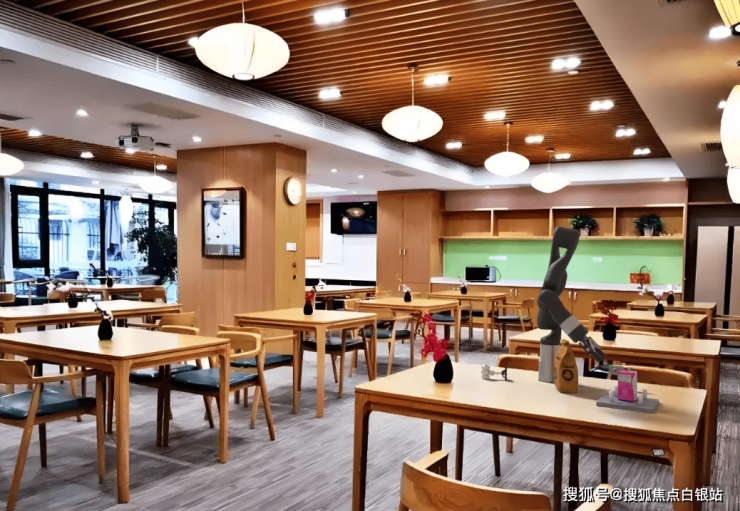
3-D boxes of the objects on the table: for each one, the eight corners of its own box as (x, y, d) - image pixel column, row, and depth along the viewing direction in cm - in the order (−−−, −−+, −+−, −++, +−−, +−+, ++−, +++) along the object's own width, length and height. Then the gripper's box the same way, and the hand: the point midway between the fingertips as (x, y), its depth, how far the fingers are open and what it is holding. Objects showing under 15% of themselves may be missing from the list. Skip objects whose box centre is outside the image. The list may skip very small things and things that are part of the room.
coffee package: (555, 392, 254) (556, 341, 254) (553, 387, 266) (553, 338, 267) (579, 394, 252) (580, 342, 252) (576, 388, 264) (576, 338, 264)
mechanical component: (631, 391, 260) (631, 368, 260) (607, 387, 266) (607, 365, 266) (633, 389, 262) (633, 367, 262) (608, 386, 268) (609, 364, 269)
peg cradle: (596, 405, 231) (596, 391, 232) (606, 396, 248) (606, 383, 248) (652, 413, 221) (652, 398, 221) (659, 402, 238) (659, 389, 238)
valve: (481, 380, 281) (507, 381, 278) (481, 366, 281) (507, 367, 278) (481, 377, 287) (506, 378, 285) (481, 363, 287) (506, 365, 285)
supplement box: (622, 397, 239) (622, 369, 239) (637, 400, 235) (638, 371, 235) (617, 400, 235) (617, 371, 235) (632, 402, 231) (632, 373, 231)
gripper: (576, 324, 239) (606, 355, 233) (584, 321, 251) (613, 351, 245) (563, 336, 242) (592, 367, 235) (571, 333, 254) (599, 362, 248)
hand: (602, 359), depth 240 cm, fingers open, 8 cm apart
